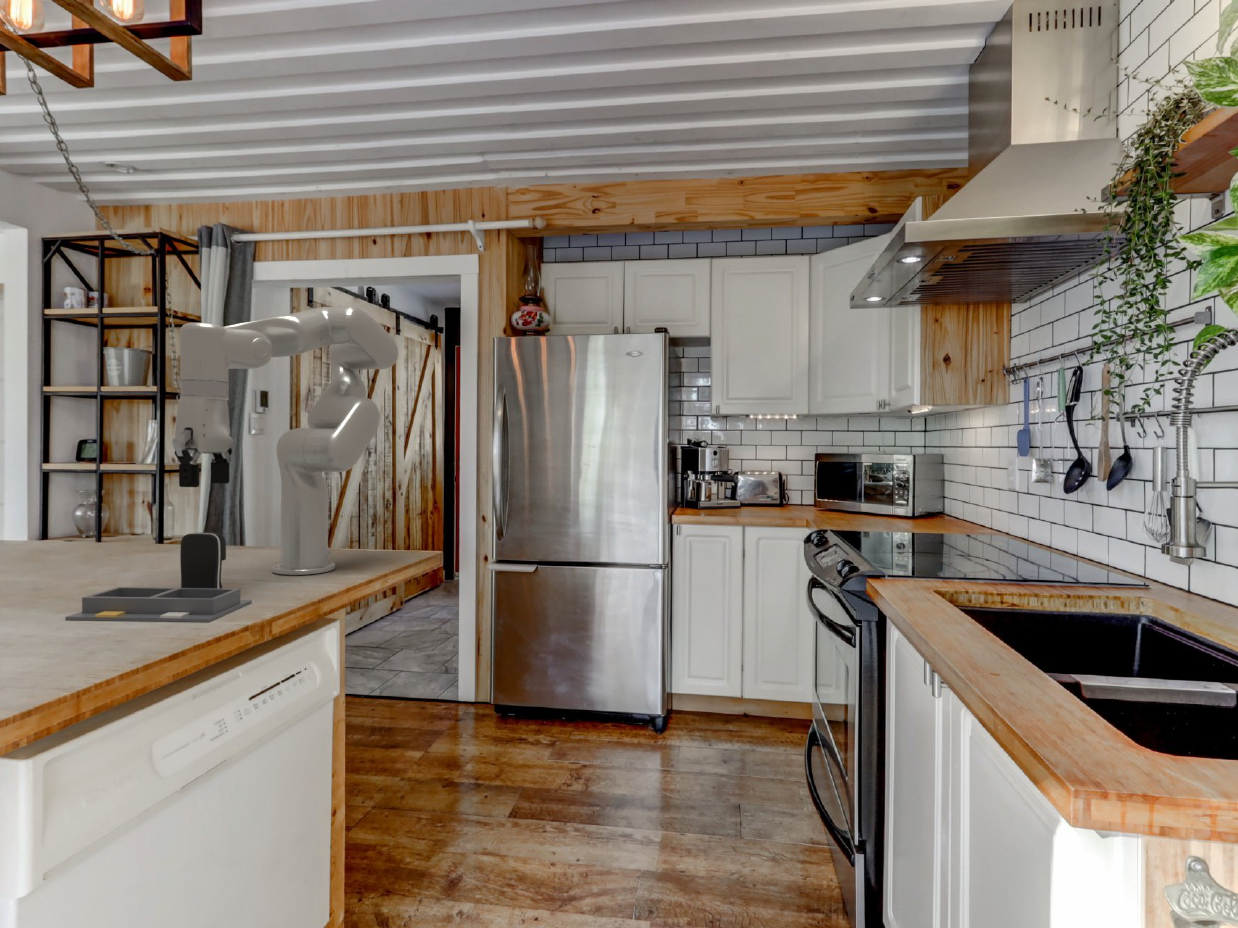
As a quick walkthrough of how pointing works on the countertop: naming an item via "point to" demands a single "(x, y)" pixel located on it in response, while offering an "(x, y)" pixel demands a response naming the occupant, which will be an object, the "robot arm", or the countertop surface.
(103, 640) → the countertop surface
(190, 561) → the battery charger
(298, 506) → the robot arm
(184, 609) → the dock
